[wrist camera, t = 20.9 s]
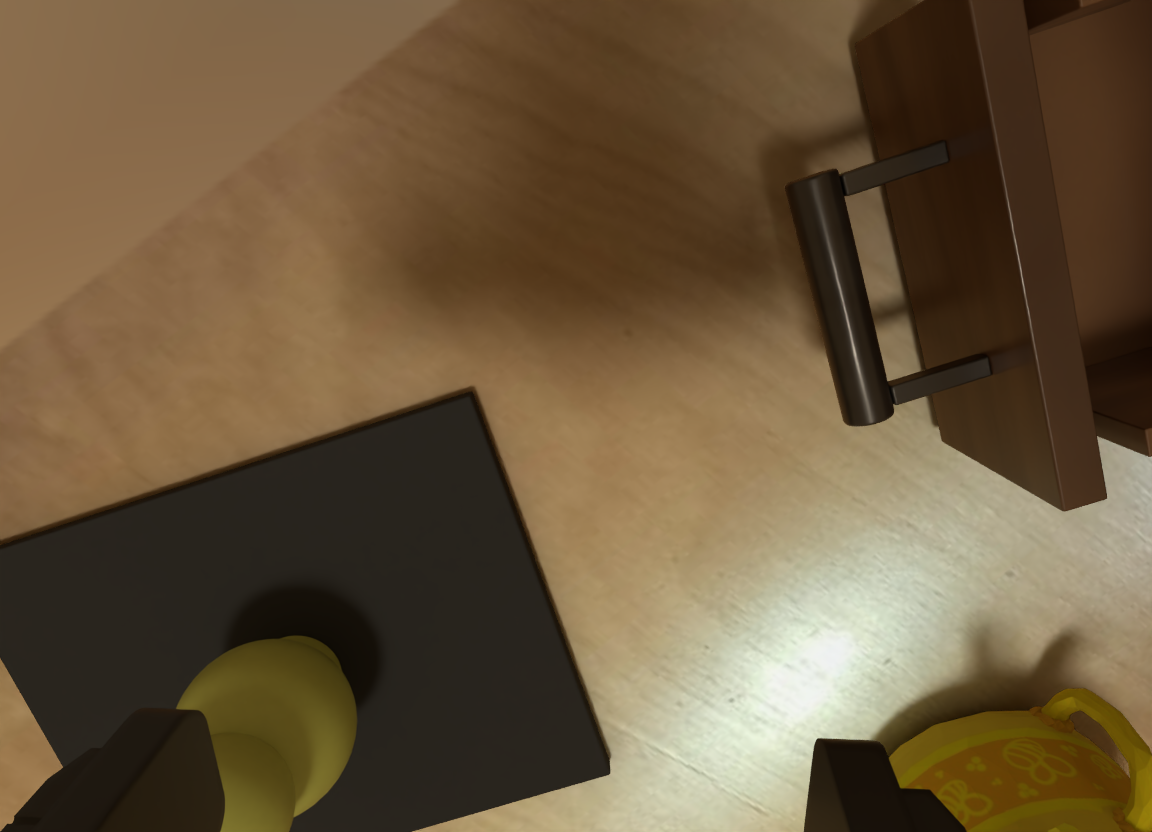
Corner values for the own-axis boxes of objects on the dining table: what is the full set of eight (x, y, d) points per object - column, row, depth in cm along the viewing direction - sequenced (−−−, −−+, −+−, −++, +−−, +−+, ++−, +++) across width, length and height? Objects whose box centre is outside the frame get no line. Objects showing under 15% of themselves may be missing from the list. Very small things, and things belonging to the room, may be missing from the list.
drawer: (823, 478, 27) (906, 560, 20) (721, 89, 24) (780, 37, 17) (1335, 320, 26) (1598, 352, 19) (1298, -111, 23) (1596, -248, 16)
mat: (-37, 557, 28) (-54, 566, 28) (472, 390, 27) (469, 395, 26) (154, 893, 32) (143, 909, 31) (609, 761, 31) (611, 775, 30)
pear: (196, 628, 28) (-17, 859, 18) (342, 583, 28) (211, 792, 18) (259, 757, 30) (96, 1040, 19) (400, 716, 29) (310, 982, 19)
